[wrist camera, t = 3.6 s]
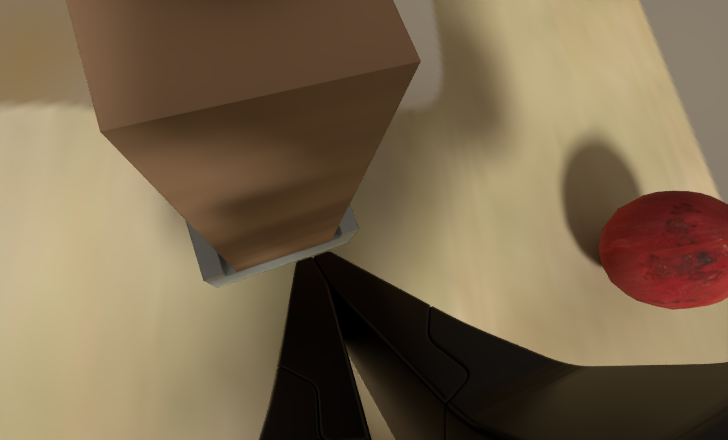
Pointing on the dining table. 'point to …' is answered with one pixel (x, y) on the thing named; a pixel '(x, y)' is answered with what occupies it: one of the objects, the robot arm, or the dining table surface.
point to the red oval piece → (669, 249)
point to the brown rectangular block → (247, 108)
